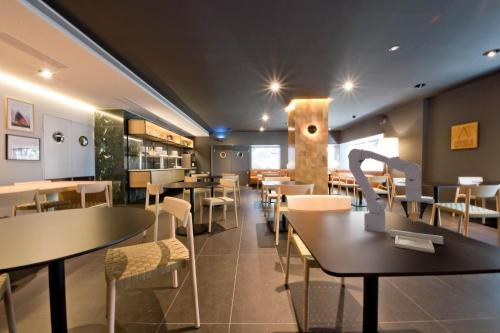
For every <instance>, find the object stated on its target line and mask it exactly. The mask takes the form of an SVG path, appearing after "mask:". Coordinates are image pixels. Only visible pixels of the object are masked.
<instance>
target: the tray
mask: <svg viewBox="0 0 500 333" xmlns="http://www.w3.org/2000/svg"><path fill="white" fill-rule="evenodd" d="M394 238H395V239H394V240H395V242H394V247H395V248H401V249H406V250H412V251H419V252H424V253H430V254H435V248H434V245H433V243H432V242H431V240H426V239H419V238H412V237H405V236H398V235H396V237H394Z"/></svg>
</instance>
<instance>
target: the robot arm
mask: <svg viewBox="0 0 500 333" xmlns="http://www.w3.org/2000/svg"><path fill="white" fill-rule="evenodd" d="M347 158H348V169H349V171H350V172H351V174H352V176H353V177H354V178H353V179H354V180H355V181H356V182H357V185H358V187H359V188H360V189H361V192H362V193H363V195H364V197H365V202H366V204H367V205H366V206H367V210H368V211H365V212H364V219H363V220H364V223H363V224H364V230H365V231H369V232H370V231H371V232H379V233H387V232H388V231H387V230H388V227H386V222H387V221H386V212H385V209H386V208H387V203H386V201H385V200H384V199H382V198H381V196H380V195H379V194H378V193H376V191H375V189H374V187H373V186H372V183H370V181H369V180H368V178H367V176H366V175H365V173H364V171H363V170H362V168H361V167H362V164H363V163H364V161H366V160H367V159H368V160H369V159H371V160H374V161H376V162H377V161H378V162H380V163H383V164H386V166H387V167H388V168H390V169H392V170H394V171H398V172H401V173H404V174H405V181H404V182H405V183H404V185H405V196H404V197H403V196H401V197H399V196H394V202H400V204H401V206H402V208H403V211H404V213H405V217H406V219H409V218H408V214H409V212H408V203H416V204H417V203H419V215H420V219H419V220H423V216H424V213H425V211H426V209H427V207H428V204H433V205H434V204H435V199H434V198H425V197H424V198H423V197H422V179H421V171H422V167H421V165H420V164H418V163H416V162H412V161H411V160H410V159H409V160H405V159H402V158H400V156H391V157H387V156H385V155H384V154H381V153H377V152H374V151H372V150H367V149H366V150H365V149H362V148H353V149H351V150H350V151H349V153H348V156H347Z"/></svg>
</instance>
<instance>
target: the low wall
mask: <svg viewBox="0 0 500 333" xmlns="http://www.w3.org/2000/svg"><path fill="white" fill-rule="evenodd" d="M396 235H398V236H405V237H412V238H419V239H426V240H431V242H432V244H438V245H444V236H443V235H437V234H436V235H434V234H429V233H428V234H427V233H421V232H413V231H405V230H404V231H403V230H397V229H390V237H392V238H396Z"/></svg>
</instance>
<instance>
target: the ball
mask: <svg viewBox="0 0 500 333" xmlns="http://www.w3.org/2000/svg"><path fill="white" fill-rule="evenodd" d="M407 219H409V220H410V221H411V222H418V221H419V220H421V219H420V213H419V212H417V211H410V212H408V218H407Z"/></svg>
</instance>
